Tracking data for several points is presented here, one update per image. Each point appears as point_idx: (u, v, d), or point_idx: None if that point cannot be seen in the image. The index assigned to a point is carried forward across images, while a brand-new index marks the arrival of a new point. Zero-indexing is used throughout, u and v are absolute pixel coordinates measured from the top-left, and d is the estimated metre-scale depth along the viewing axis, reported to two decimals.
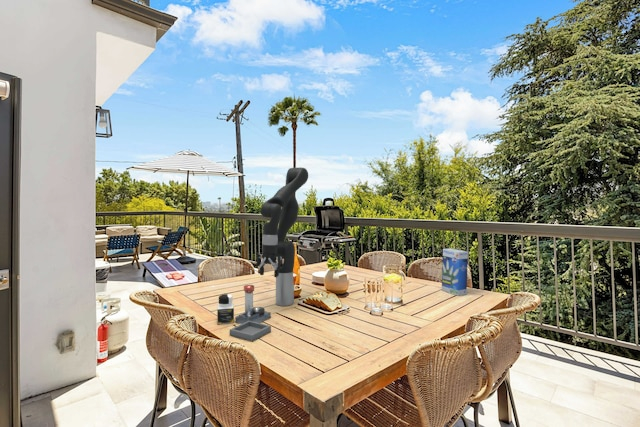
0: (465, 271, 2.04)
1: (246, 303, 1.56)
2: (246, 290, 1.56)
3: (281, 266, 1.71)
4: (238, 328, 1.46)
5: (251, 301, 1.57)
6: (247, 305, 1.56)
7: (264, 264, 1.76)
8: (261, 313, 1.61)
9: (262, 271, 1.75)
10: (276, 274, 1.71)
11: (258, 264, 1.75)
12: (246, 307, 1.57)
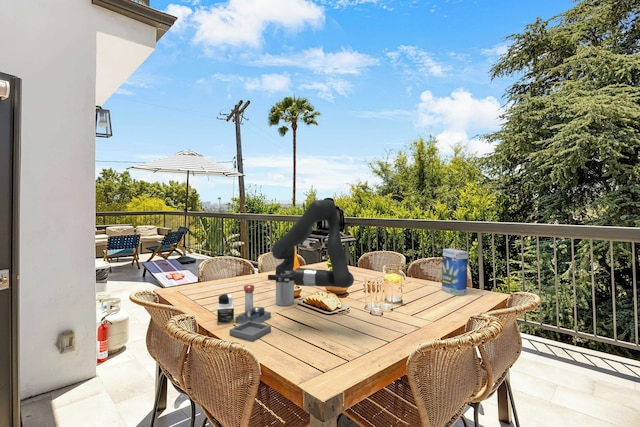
0: (465, 271, 2.04)
1: (246, 303, 1.56)
2: (246, 290, 1.56)
3: (289, 271, 1.60)
4: (238, 328, 1.46)
5: (251, 301, 1.57)
6: (247, 305, 1.56)
7: (280, 275, 1.50)
8: (261, 313, 1.61)
9: None
10: None
11: None
12: (246, 307, 1.57)
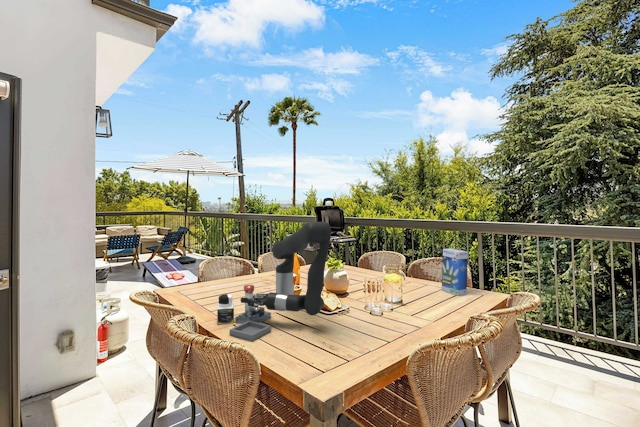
0: (465, 271, 2.04)
1: (246, 303, 1.56)
2: (246, 290, 1.56)
3: None
4: (238, 328, 1.46)
5: None
6: (247, 305, 1.56)
7: None
8: (261, 313, 1.61)
9: None
10: None
11: None
12: (246, 307, 1.57)
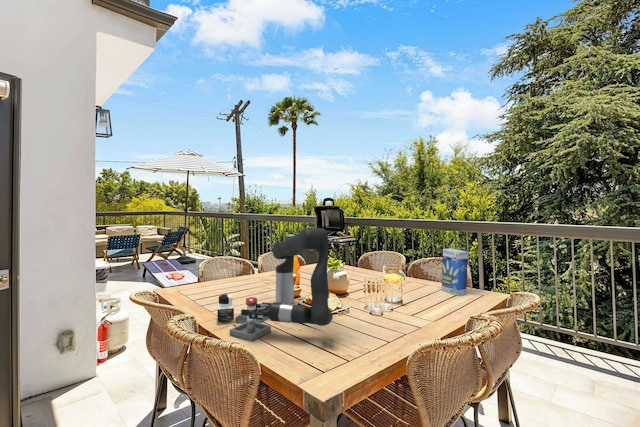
0: (465, 271, 2.04)
1: (248, 317, 1.43)
2: (248, 303, 1.42)
3: (264, 304, 1.50)
4: (238, 328, 1.46)
5: None
6: (249, 319, 1.43)
7: None
8: None
9: None
10: None
11: (251, 316, 1.38)
12: (248, 322, 1.43)
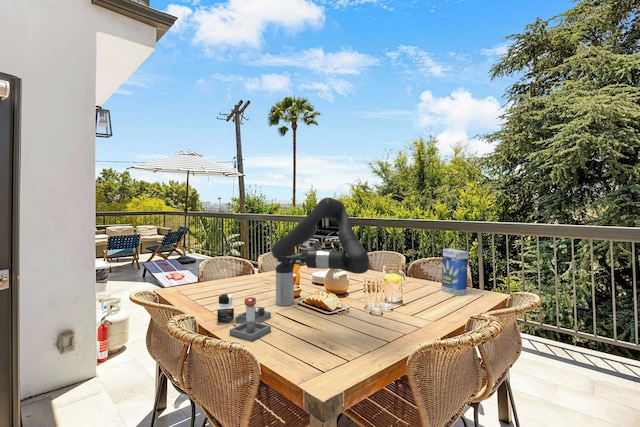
0: (465, 271, 2.04)
1: (247, 318, 1.43)
2: (247, 304, 1.42)
3: None
4: (238, 328, 1.46)
5: (253, 315, 1.44)
6: (248, 319, 1.43)
7: (290, 257, 1.40)
8: (261, 313, 1.61)
9: None
10: None
11: None
12: (247, 322, 1.43)
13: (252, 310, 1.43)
